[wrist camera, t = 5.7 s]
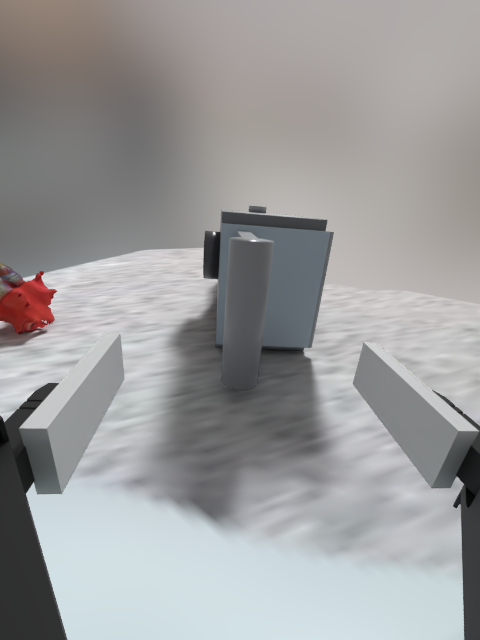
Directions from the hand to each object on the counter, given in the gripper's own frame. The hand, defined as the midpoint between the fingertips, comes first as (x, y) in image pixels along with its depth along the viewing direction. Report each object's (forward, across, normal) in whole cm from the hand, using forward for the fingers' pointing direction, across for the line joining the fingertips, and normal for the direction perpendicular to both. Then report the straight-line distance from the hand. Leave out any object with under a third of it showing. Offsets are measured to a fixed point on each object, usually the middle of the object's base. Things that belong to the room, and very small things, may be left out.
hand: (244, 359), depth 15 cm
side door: (+9, +4, -6) cm, 12 cm away
